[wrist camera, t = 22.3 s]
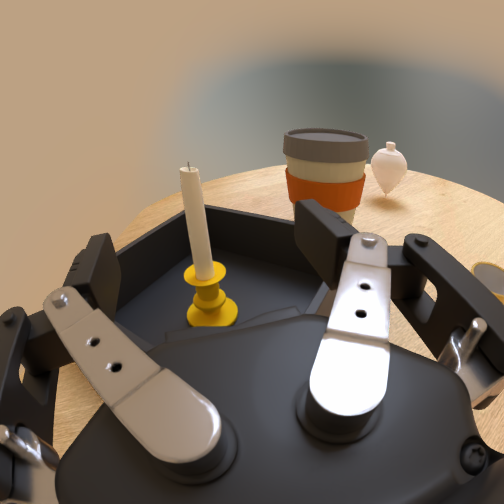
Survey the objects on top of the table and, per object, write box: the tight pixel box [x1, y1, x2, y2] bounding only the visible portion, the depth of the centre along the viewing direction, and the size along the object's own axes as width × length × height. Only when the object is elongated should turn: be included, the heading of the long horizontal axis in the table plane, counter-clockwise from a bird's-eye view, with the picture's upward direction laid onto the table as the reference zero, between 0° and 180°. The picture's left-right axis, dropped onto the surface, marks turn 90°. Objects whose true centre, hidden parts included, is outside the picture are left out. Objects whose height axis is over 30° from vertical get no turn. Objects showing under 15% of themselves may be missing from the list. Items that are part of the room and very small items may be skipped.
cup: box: [471, 262, 504, 304], centre depth 25 cm, size 12×12×5 cm
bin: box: [114, 204, 337, 353], centre depth 29 cm, size 22×22×7 cm
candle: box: [180, 162, 238, 327], centre depth 25 cm, size 5×5×16 cm
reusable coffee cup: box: [283, 128, 369, 226], centre depth 42 cm, size 12×13×15 cm
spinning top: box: [371, 142, 407, 198], centre depth 53 cm, size 8×8×12 cm
